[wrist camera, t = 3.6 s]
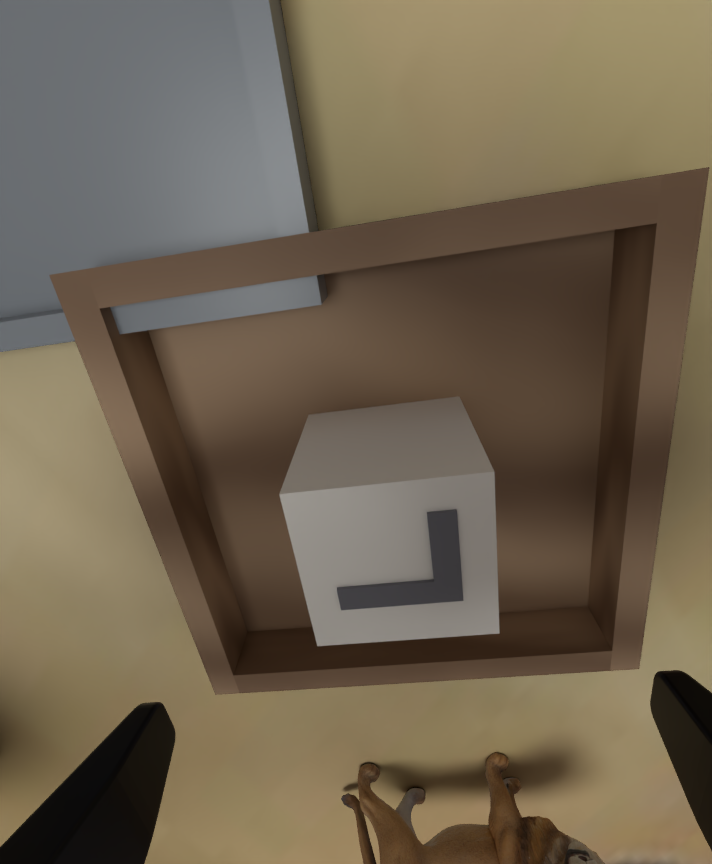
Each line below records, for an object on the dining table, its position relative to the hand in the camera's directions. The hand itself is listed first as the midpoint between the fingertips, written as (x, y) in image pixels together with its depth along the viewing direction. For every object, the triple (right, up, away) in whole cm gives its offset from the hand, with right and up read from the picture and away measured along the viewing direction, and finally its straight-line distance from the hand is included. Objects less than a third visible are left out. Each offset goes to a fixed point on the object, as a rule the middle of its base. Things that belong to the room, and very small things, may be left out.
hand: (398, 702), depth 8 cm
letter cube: (+1, +4, +8) cm, 9 cm away
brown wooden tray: (+1, +4, +8) cm, 9 cm away
